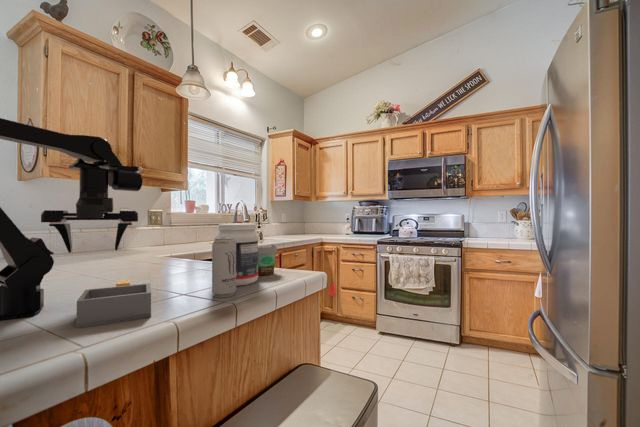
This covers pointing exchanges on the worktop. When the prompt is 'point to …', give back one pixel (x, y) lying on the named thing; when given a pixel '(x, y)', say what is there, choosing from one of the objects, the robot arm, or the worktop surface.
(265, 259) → the food container
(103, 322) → the parts tub
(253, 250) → the supplement tub
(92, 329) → the worktop surface
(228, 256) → the energy drink can
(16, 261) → the robot arm
